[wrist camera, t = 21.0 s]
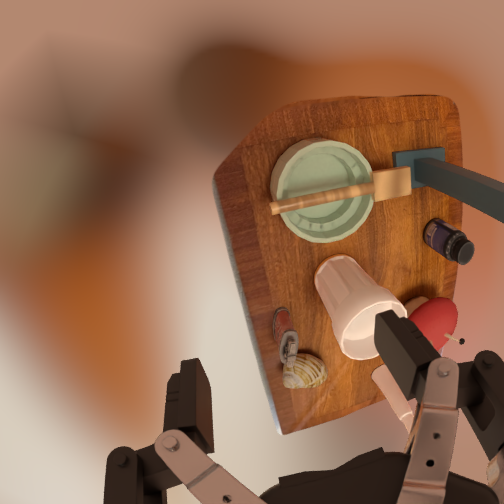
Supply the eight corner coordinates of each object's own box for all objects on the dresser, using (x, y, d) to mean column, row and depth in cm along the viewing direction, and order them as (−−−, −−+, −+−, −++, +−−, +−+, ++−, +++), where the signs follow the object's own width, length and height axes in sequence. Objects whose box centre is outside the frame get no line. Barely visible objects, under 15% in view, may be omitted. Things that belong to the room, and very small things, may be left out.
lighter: (288, 337, 62) (299, 372, 53) (271, 339, 62) (281, 374, 53) (290, 306, 59) (303, 339, 50) (273, 307, 58) (284, 341, 49)
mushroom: (382, 344, 67) (409, 387, 54) (385, 291, 61) (421, 334, 47) (433, 323, 68) (464, 360, 54) (441, 272, 61) (481, 307, 47)
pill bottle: (425, 250, 58) (457, 274, 48) (419, 226, 55) (452, 249, 45) (446, 235, 57) (478, 257, 47) (440, 212, 54) (475, 232, 44)
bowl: (261, 146, 46) (268, 150, 40) (353, 132, 46) (370, 135, 41) (278, 237, 52) (285, 252, 47) (361, 219, 53) (377, 231, 48)
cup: (334, 236, 54) (378, 287, 38) (373, 265, 57) (420, 317, 42) (295, 285, 57) (324, 347, 41) (337, 308, 61) (371, 367, 45)
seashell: (328, 374, 68) (319, 407, 60) (289, 367, 71) (277, 399, 63) (333, 345, 63) (325, 380, 55) (290, 338, 66) (277, 371, 58)
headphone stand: (392, 152, 48) (542, 210, 19) (440, 146, 49) (579, 196, 20) (394, 189, 51) (530, 271, 22) (441, 181, 52) (570, 247, 23)
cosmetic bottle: (392, 361, 71) (431, 423, 51) (388, 376, 74) (423, 436, 54) (372, 367, 71) (408, 433, 51) (369, 382, 73) (401, 445, 54)
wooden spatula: (272, 221, 45) (274, 225, 43) (266, 192, 43) (268, 195, 41) (407, 192, 45) (413, 195, 44) (406, 165, 43) (412, 167, 42)
